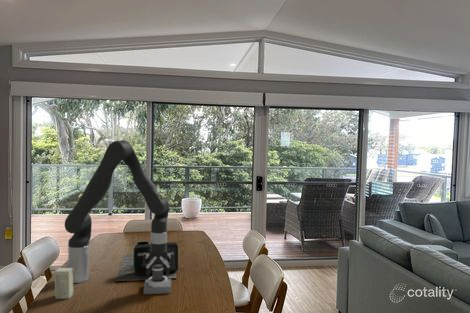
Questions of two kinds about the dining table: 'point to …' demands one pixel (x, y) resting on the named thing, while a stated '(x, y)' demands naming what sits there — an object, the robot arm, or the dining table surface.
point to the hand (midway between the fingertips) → (158, 275)
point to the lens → (157, 273)
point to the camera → (138, 258)
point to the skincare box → (63, 283)
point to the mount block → (157, 286)
